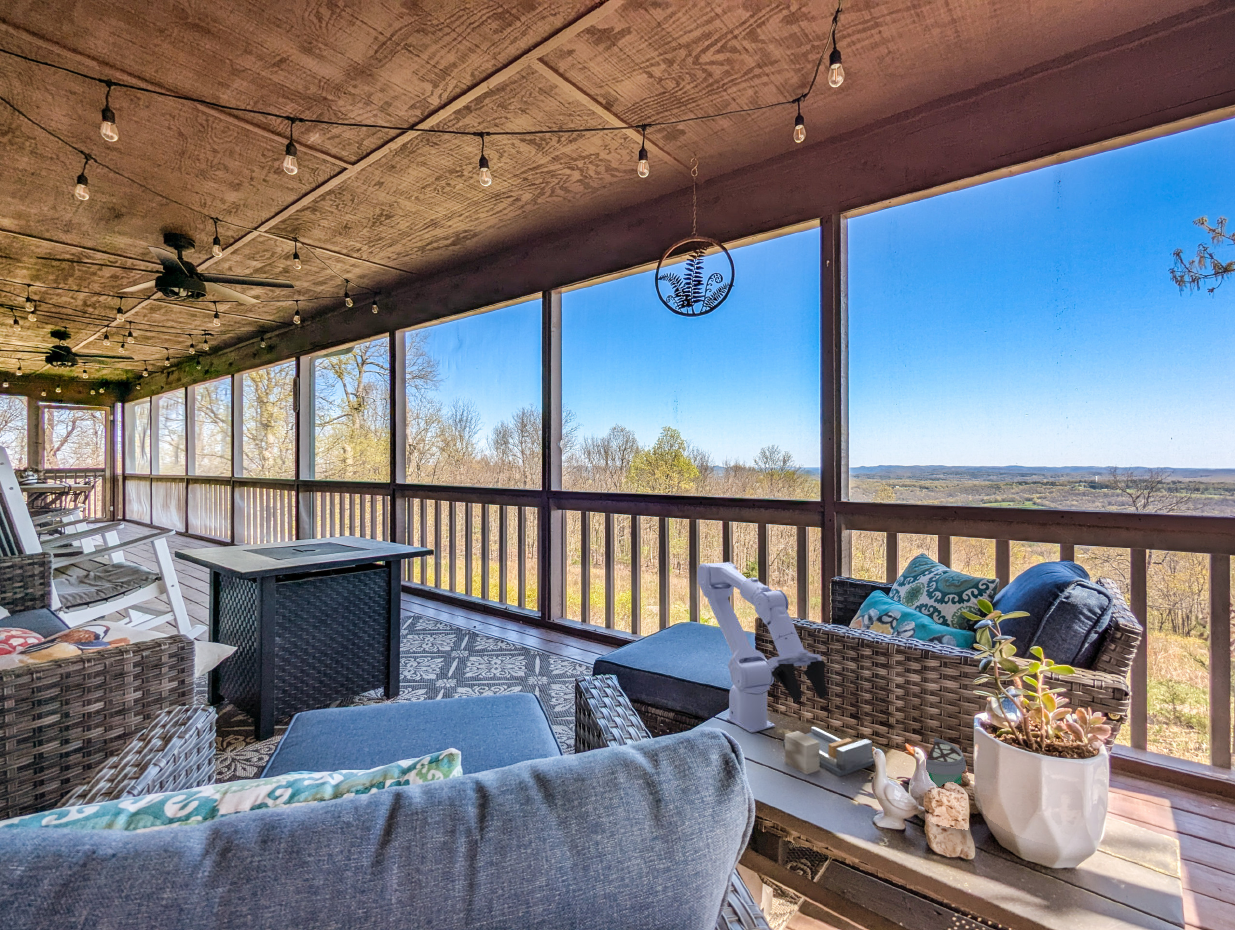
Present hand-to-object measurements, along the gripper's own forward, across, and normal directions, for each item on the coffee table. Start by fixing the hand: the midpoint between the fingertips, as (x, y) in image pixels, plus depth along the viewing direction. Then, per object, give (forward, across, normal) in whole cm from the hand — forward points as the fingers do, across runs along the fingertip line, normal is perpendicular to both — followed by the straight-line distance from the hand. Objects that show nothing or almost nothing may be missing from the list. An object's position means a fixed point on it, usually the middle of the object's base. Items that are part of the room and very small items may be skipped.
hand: (811, 698), depth 124 cm
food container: (+25, +13, -9) cm, 30 cm away
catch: (+11, +8, +6) cm, 15 cm away
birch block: (+11, -1, +10) cm, 15 cm away
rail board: (+9, +8, +10) cm, 16 cm away
